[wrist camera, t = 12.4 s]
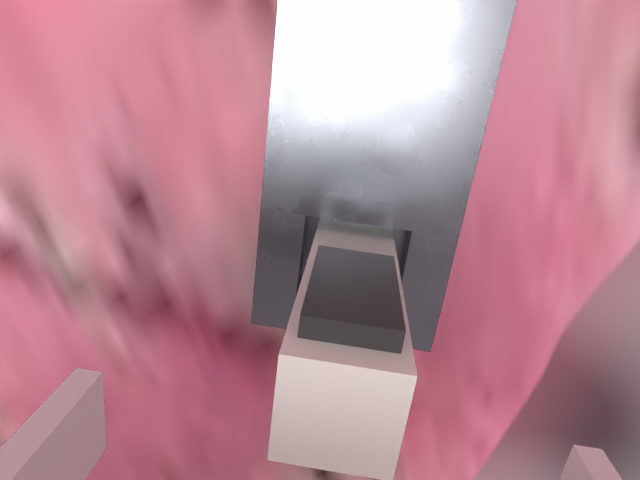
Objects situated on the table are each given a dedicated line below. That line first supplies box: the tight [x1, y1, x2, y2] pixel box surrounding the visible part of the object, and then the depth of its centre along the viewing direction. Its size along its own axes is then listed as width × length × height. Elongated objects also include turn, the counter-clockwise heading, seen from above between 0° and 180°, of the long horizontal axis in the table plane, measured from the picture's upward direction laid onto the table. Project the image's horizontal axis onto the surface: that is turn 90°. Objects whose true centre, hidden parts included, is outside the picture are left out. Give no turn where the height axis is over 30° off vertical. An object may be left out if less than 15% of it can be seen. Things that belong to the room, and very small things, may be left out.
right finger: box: [267, 219, 418, 480], centre depth 20 cm, size 5×4×13 cm
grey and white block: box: [251, 0, 517, 352], centre depth 17 cm, size 10×26×14 cm, turn 173°
